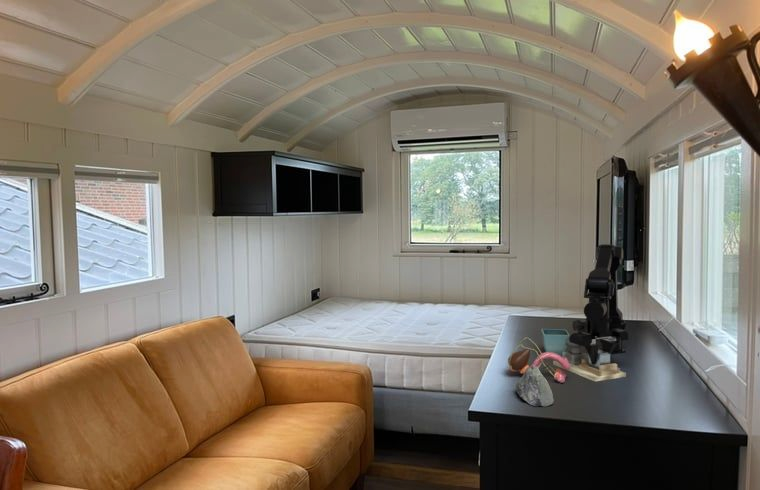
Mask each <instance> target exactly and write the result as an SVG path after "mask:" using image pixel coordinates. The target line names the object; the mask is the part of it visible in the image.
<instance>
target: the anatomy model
mask: <svg viewBox="0 0 760 490" xmlns="http://www.w3.org/2000/svg"><path fill="white" fill-rule="evenodd" d="M525 340H529V341H530V342H531V343H532V344H534V346H535V347H536V348H537V350H538V351H537V350H536V349H535V348H530V347H525V346H524V345H523V344H522V343H523V342H524V341H525ZM520 347H521V348H523V350H519V351H517V350H518V349H519V348H520ZM531 351H534V352H536V354H537V357H536V358H535V360H534V361H533V363H531V365H529V364H528V363H529V360H530V356H531ZM538 352H539V353H540V354H539V353H538ZM547 360H553V361H556V362H558V363H559V364H560V365H562V367H563V368H564V369H563V368H562V369H561V368H560V367H558V368H556V369H554V368H553V366H551V365H550V364H549V362H547ZM544 362H545V363H546V364H547V365H546V364H545V363H544ZM507 363H508V365H509V369H510V371H512V372H518V371H519V372H520V374H521V375H522V374H523V375H524V373H525V371H526V369H527V368H529V367H531V366H533V365H535V366H536V367H538V369H539V370H540V368H541V369H542V371H544V374H546V373H547V372H549V373H550V374H551V375H552V376H553V378H554V379H555V380H556V381H557V382H558V383H560V384H564V383H565V382H566V377H567V374H566V372H565V371H564V370H565V369H566V371H568V369H570V364H569V362H568V360H567V358H565V359H564V358H563V357H561V356H560V355H558V354H556V353H552V352H546V351H545V352H542V351H541V350H540V348H539V347H538V345H537V344H536V343H535V341H533V340H532V339H531V338H530V337H526V336H525V338H523V339H522V340H521V341H520V342H519V343H518V344H517V345H516V347H515V349H514V350H513V352H512V353H511V354H510V355H509V357H508V359H507ZM541 365H543V366H544V367H541ZM548 367H549V368H548ZM551 370H552V371H553V372H554V373H552V371H551Z"/></svg>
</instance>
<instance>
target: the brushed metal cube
mask: <svg viewBox="0 0 760 490" xmlns="http://www.w3.org/2000/svg"><path fill="white" fill-rule="evenodd" d="M607 364H611V355H610V354H609V353H608V352H605V351H602V350H600V348H598V354H597V360H596V363H595V365H593V364H592V363H591V360H590V357H589V366H591V367H594V368H597V369H599V366H600V365H607Z"/></svg>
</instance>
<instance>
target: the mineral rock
mask: <svg viewBox="0 0 760 490" xmlns="http://www.w3.org/2000/svg"><path fill="white" fill-rule="evenodd" d="M530 366H531V365H530ZM530 366H529V368H527V369H526V371H525V373H524V374H523V375H522V376H521V377H520V378H519V379H518V380H517V383H516V384H515V391H516V392H517V394H518V395H519V398H521V399H523V400H524V401H525V402H526V403H528V404H529V405H531V406H534V407H549V406H550V405H552V404H554V401H555V400H554V396H553V391H552V389H551V387H550V385H549V382H548V381H547V379H546V378H545V377H544V375H543V374H542V372H541V371H540V368H539V369H538V367H536V366H535V365H533V366H531V367H530Z"/></svg>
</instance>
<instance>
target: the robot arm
mask: <svg viewBox="0 0 760 490" xmlns="http://www.w3.org/2000/svg"><path fill="white" fill-rule="evenodd" d="M595 259H596V262H595V267H594V269H592V271H590V272H589V273H588V276H587V278H586V279H585V284H584V292H583V299H588V303H586V304H585V306H584V308H583V314H584V316H585V321H584V322H583V321H581V320H580V319H578V320H577V319H576V320H573V321H572V329H573V332H574V333H571V334H569V342H571V343H574V344H577V345H580V346H584V347H583V348H585V349H586V352H587V354H588V355H589V357H590V360H591V363H592V364H593V365H595V363H596V360H597V354H598V349H599V350H602V351H605V352H608V353H609V354H610V356H611V355H612V354H613V355H614V354H620V353H626V352H627V351H626V349H623V341H628V340H629V336H630V335H629V333H628V327H627V323H626V321H625V319H624V316H623V313H622V311H621V310H620V309H619V305H618V303H619V302H618V270H619V267H620V266H621V264H622V260H623V259H624V249H623V248H622V247H620V246H619V245H618V246H617V245H614V244H607V243H606V244H602V243H601V244H599V245H598V246H596V247H595ZM576 331H577V332H576ZM601 336H602V337H601ZM597 341H600V342H599V343H601V347H600V348H599V346H600V345H599V344H597Z"/></svg>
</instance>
